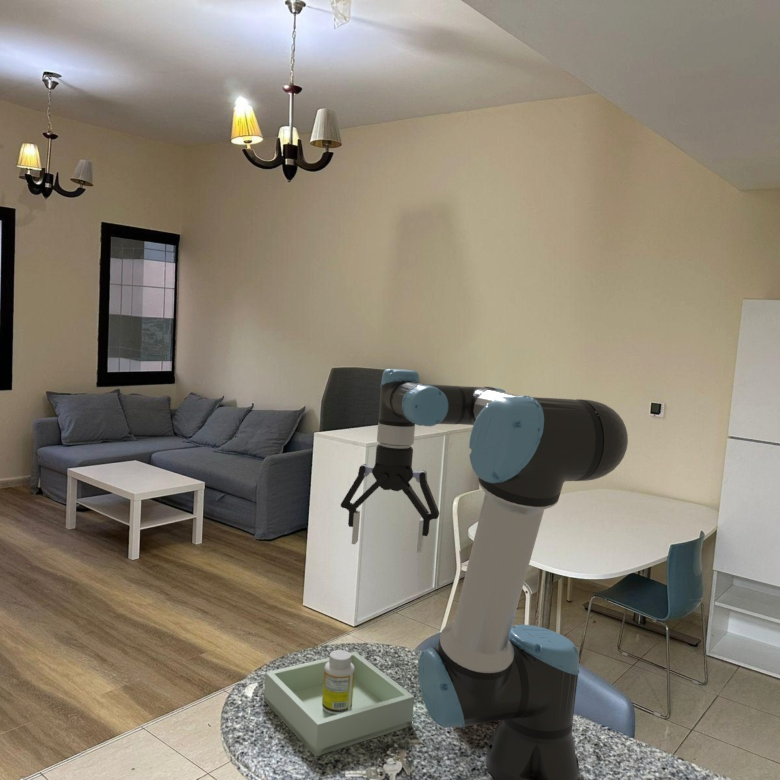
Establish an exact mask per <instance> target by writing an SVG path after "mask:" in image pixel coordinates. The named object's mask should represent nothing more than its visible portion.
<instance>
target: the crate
mask: <svg viewBox="0 0 780 780" xmlns="http://www.w3.org/2000/svg"><path fill="white" fill-rule="evenodd" d="M349 653H350V654H351V663H352V664H353V665H354V668H355V671H354V685H353V699H352V708H351V710H350V711H348V712H344V713H341V714H337V715H334V714H330V713H328V712H326V711H325V710H324V709H323V707H322V699H323V684H324V668H325V665H326V663H327V662H329V657H326V658H321V659H318V660H313V661H308V662H305V663H300V664H296V665H291V666H287V667H282V668H279V669H274V670H269V671H266V672H265V673H264V686H263V687H264V689H263V702H264V701H265V702H266V703H267V704H268V705H269V706H268V705H267V704H266V703H265V702H264V703H265V704H266V705H267V706H268V707H269V708H270V709H271V710H272V711H273V712H274V714H276V716H277V717H278V718H279V719H280V720H281V721H282V722H283V723H284V725H286V726H287V727H288V729H289V730H290V731H291V732H292V734H294V735H295V736H296V737H297V739H298V740H299V741H300V742H301V743H302V744H303V745H304V746H305V747H306V748H307V749H308V750H309V752H311V754H313V756H314V757H318V756H322V755H325V754H328V753H331V752H334V751H338V750H341V749H344V748H347V747H349V746H353V745H356V744H359V743H362V742H365V741H368V740H372V739H375V738H377V737H380V736H384V735H387V734H391V733H393V732H396V731H400V730H403V729H407V728H409V727H412V725H413V716H414V715H413V714H414V705H415V696H414V695H413V694H411V693H410V692H409V691H408V690H406V689H405V688H404V687H403V686H401V685H400V684H398V683H397V682H396V681H394V680H393V679H392V678H391V677H390V676H388V675H387V674H385V673H384V672H383V671H382V670H380V669H379V668H377V667H376V666H375V665H374V664H372V663H371V662H370V661H369V660H367V659H365V658H364V657H363V656H362V655H361V654H359V653H358V652H357V651H352V652H349Z"/></svg>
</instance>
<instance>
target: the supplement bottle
mask: <svg viewBox="0 0 780 780" xmlns="http://www.w3.org/2000/svg"><path fill="white" fill-rule="evenodd" d="M350 653H351V652H348V651H346V650H341V649H337V650H333V651H331V652H330V653H329V657H328V658H329V662H327V663H326V665H325V668H324V684H323V699H322V707H323V709H324V710H325V711H326V712H328V713H330V714H334V715H337V714H341V713H344V712H348V711H350V710H351V708H352V699H353V685H354V671H355V668H354V665H353V664H352V663H351V654H350Z"/></svg>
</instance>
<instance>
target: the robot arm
mask: <svg viewBox="0 0 780 780" xmlns="http://www.w3.org/2000/svg"><path fill="white" fill-rule="evenodd" d="M379 388H380V394H379V395H380V396H379V397H380V399H379V410H378V411H379V412H378V424H377V436H376V442H377V443H378V444H377V445H376V447H375V448H376V449H375V450H376V451H375V461H374V466H369V465H367V464H366V463H363V464H361V465H360V466H359V467H358V472H357V477H356V478H355V480H354V481H353V483H352V485H351V486H350V488H349V489H348V490H347V493H346V495H345V496H344V498H343V500H342V501H341V502H340V508H342V509H346V510H347V511H348V527H349V528H350V527H351V528H352V533H351V544H352V545H356V544H357V543H358V542H359V532H360V531H359V530H360V519H361V510H358V508H359V507H360V506H361V505H362V504H363V503H364V502H365V501H366V500H367V499H368V498H370V496H371V495H372V494H374V492H376V490H377V489H379V487H380V489H382V490H383V491H394V492H399V491H402V492H403V493H404V495H406V496H407V498H408V499H409V501H410V502H411V504H412V505H413V507H414V508H415V509H416V511H417V512H418V514H419V515H420V516H421V517H420V519H419V522H418V533H417V534H418V536H417V548H416V553H418V554H421V553H422V550H423V544H424V537H428V535H429V533H430V523H431V521H432V520H437V519H438V518H439V516H440V511H439V508H438V506H437V503H436V500H435V498H434V496H433V493H432V491H431V489H430V485H429V483H428V475H427V471H426V470H424V469H423V470H421V471H414V470H413V457H414V455H413V454H414V448H413V447H412V446H413V445H414V443H415V442H414V441H415V429H416V425H417V426H419V427H421V426H424V427H433V426H436V425H465V426H472V428H471V432H470V437H469V442H468V443H469V444H468V445H469V446H468V448H469V450H470V449H471V451H470V453H469V460H470V464H471V467H472V470H473V471H474V473H475V475H476V476H477V482H478V485H479V487H480V488H481V489H482V491H483V492H484V498H483V500H482V502H483V503H482V506H481V510H480V514H479V517H478V521H477V522H478V523H477V526H476V530H475V534H474V538H473V541H472V545H471V546H472V547H471V551H470V554H469V559H468V563H467V567H466V571H465V574H464V579H463V583H462V586H461V591H460V595H459V599H458V603H457V606H456V612H455V616H454V620H453V621H452V622H450V623H447V624H446V625H445V626H444V627H443V629H442V630H441V632H440V635H439V640H438V643H437V647H431V646H429V647H428V648H427V649H424V650H422V651H421V652H420V654H419V657H418V663H417V675H418V676H417V677H418V684H419V688H420V693H421V697H422V700H423V702H424V706H425V708H426V710H427V713H428V715H429V716H430V718H431V719H432V721H433V722H434V723H435V724H436V725H438V726H439V727H442V728H465V727H469V726H474V725H479V724H480V725H481V724H486V723H493V722H494V721H499V722H498V723H497V725H496V728H495V729H494V731H493V733H492V736H491V738H490V741H489V742H488V745H487V748H486V757H485V758H486V759H485V763H486V764H485V765H486V767H487V770H488V772H489V774H491V776H492V778H494V780H579V778H580V777H579V774H580V763H579V759H578V756H577V755H576V749H575V748H576V747H575V742H574V736H573V725H574V724H573V722H574V714H575V706H576V705H575V704H576V694H577V687H578V680H579V679H578V678H579V674H580V669H579V667H580V663H579V659H580V655H579V654H580V653H579V649H578V647H577V646H576V645H575V643H574V642H572V640H570V639H569V638H568V637H566V636H564V635H562V634H560V633H559V632H556V631H554V630H550V629H548V628H545V627H541V626H537V625H531V624H517V625H513V623H514V619H515V616H516V613H517V610H518V605H519V602H520V598H521V594H522V590H523V587H524V584H525V580H526V576H527V573H528V571H529V570H528V569H529V565H530V562H531V559H532V555H533V551H534V548H535V545H536V540H537V537H538V534H539V531H540V530H539V529H540V527H541V523H542V519H543V515H544V513H545V510H547V509H549V508H552V507H554V506H556V505H557V504H558V502H559V501H560V500H559V499H560V496H561V492H562V490H563V486H564V483H565V482H588V481H594V480H597V479H600V478H602V477H605V476H607V475H608V474H610V473H611V472H613V471H614V470H615V469H616V468H617V467H618V466H619V465H620V464H621V462H622V460H623V459H624V457H625V455H626V453H627V449H628V445H629V444H628V443H629V440H628V439H629V438H628V436H629V434H628V430H627V427H626V425H625V422H624V420H623V419H622V417H621V415H620V414H618V413H617V412H616V411H615V409H613V408H611V407H610V406H609V405H607V404H605V403H602V402H599V401H596V400H590V399H580V398H579V399H578V398H577V399H573V398H556V397H555V398H553V397H552V398H551V397H536V396H535V397H534V396H530V395H519V394H515V393H510V392H506V390H505V389H503V388H499V387H498V388H497V387H492V386H463V385H462V386H461V385H449V384H447V385H446V384H445V385H444V384H431V383H430V384H427V383H420V375H419V372H417V371H416V370H411V369H401V368H387V369H384V371H383V372H382V377H381V383H380V387H379ZM371 473H372V476H373V478H374V479H375V482H373V484H372V485H371V486H370V487H368V488H367V490H366V491H364V492H363V493H362V494H361V496H359V498H358V499H356V500H355V501H353V503H352V502H351V501H352V499H353V497H354V495H355V494H356V493H357V491H358V489H359V488H360V486H361V484H363V481H364V480H365V478H366V477H368V476H369V475H370V474H371ZM413 478H414V479H415V481H416V482H417V483H419V485H420V488H421V489H420V490H421V492H422V494H423V496H424V499H425V502H426V504H427V506H428V507H426V506H425V505H424V503H423V501H421V499H420V498H419V496H418V495H417V493H416V491H415V490H414V488H413V487H412V485H411V484H410V482H411V480H412V479H413ZM427 508H428V509H429V510H428V509H427Z"/></svg>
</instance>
